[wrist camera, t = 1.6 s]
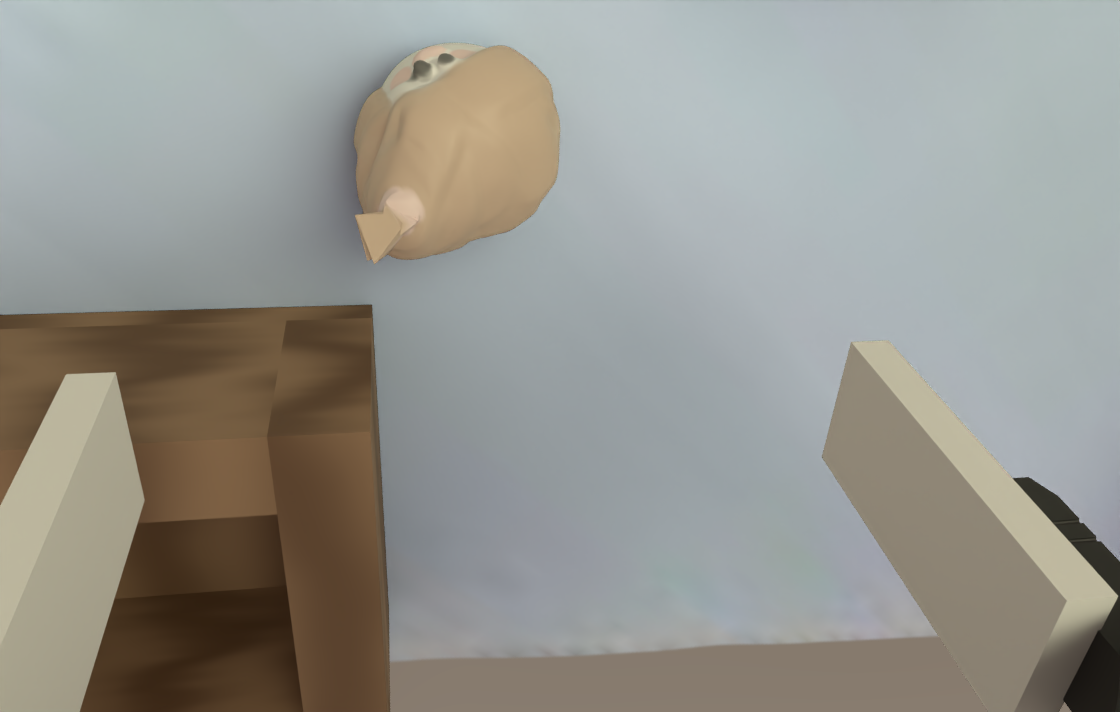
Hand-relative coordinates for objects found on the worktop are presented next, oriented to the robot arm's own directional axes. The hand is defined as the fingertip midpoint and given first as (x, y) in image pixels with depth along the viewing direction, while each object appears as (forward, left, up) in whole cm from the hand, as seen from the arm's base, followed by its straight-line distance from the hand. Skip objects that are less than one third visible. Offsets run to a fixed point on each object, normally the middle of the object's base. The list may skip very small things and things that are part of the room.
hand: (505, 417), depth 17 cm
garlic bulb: (0, 0, -18) cm, 18 cm away
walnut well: (+11, +15, -18) cm, 25 cm away
